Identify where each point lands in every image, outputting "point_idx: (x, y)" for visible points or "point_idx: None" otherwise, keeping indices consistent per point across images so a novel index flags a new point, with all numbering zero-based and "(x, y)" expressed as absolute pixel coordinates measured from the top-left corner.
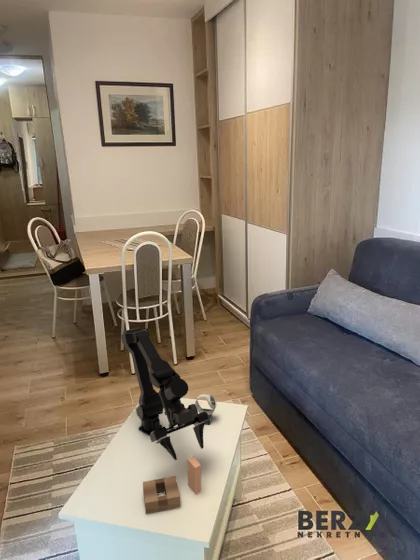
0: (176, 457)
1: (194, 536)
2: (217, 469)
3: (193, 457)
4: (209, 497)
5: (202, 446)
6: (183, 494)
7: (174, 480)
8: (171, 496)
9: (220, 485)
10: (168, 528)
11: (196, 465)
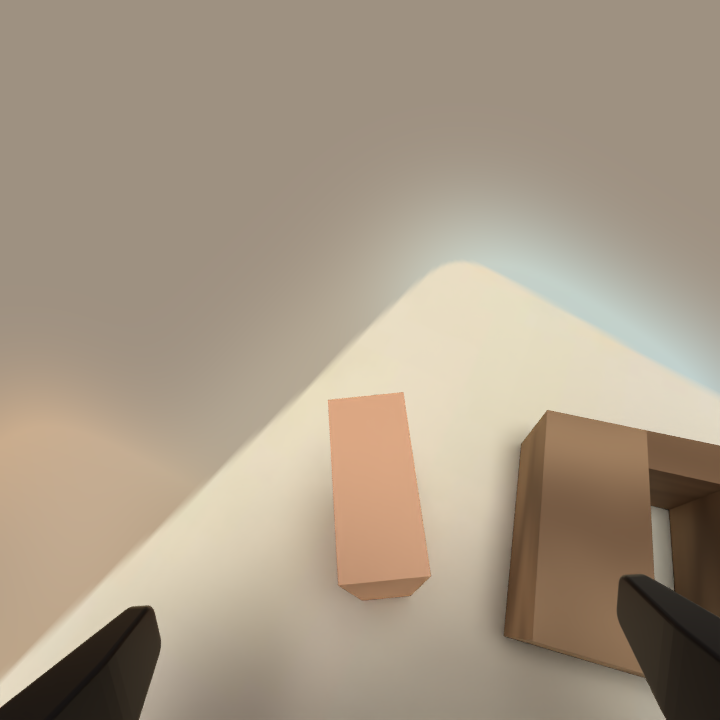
0: (643, 587)
1: (498, 275)
2: None
3: (345, 558)
4: (329, 428)
5: (128, 622)
6: (471, 528)
7: (555, 585)
8: (612, 435)
9: (218, 478)
10: (616, 354)
11: (374, 416)
